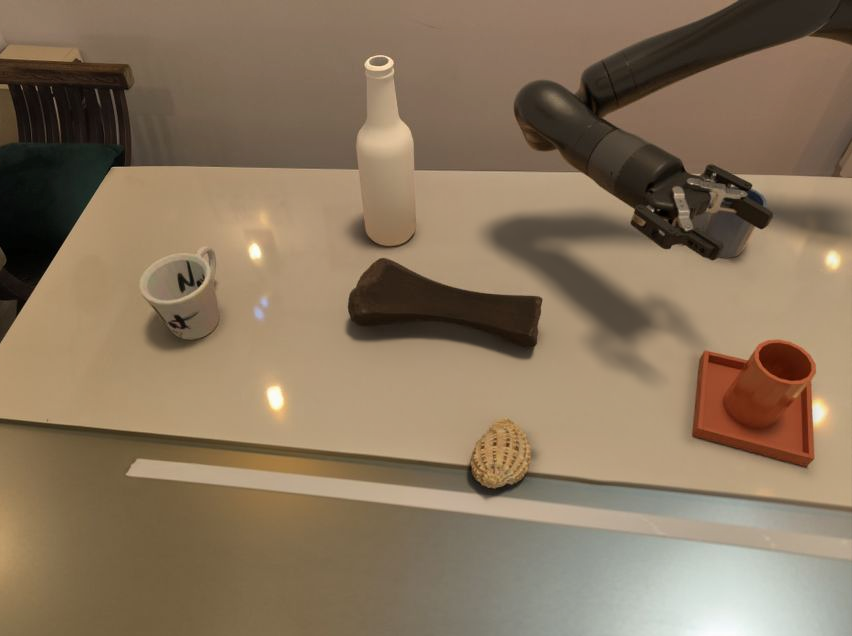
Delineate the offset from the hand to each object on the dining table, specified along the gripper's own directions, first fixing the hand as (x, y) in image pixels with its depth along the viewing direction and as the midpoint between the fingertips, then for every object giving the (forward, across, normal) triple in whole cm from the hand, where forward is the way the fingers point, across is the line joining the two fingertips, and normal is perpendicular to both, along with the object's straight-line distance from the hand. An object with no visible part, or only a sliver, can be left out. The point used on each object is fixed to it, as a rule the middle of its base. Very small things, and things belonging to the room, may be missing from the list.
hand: (744, 237), depth 69 cm
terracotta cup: (+11, 0, +22) cm, 24 cm away
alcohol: (-48, -18, +22) cm, 55 cm away
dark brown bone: (-26, -23, +22) cm, 41 cm away
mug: (-50, -53, +22) cm, 76 cm away
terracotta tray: (+11, 0, +22) cm, 25 cm away
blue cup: (-12, +23, +22) cm, 34 cm away
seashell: (-3, -32, +22) cm, 39 cm away
